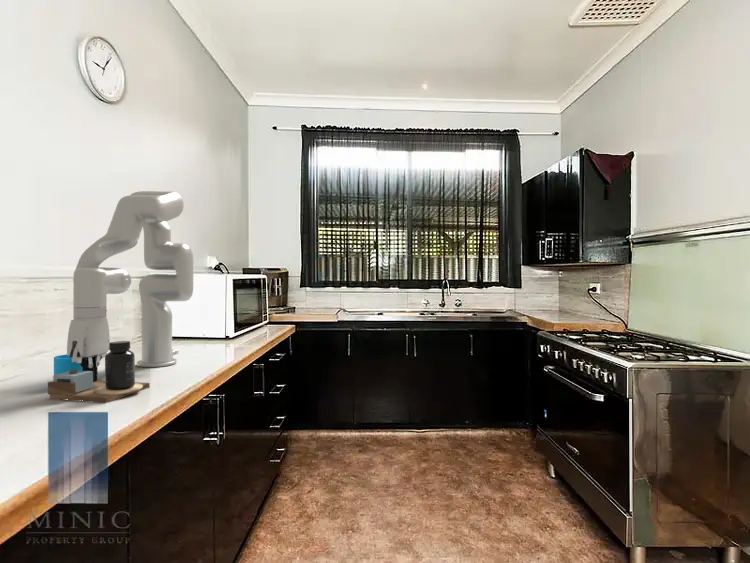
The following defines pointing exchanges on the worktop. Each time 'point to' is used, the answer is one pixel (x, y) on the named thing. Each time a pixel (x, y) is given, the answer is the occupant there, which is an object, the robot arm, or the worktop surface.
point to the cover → (76, 379)
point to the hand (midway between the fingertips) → (89, 381)
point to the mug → (64, 364)
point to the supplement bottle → (119, 366)
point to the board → (91, 391)
